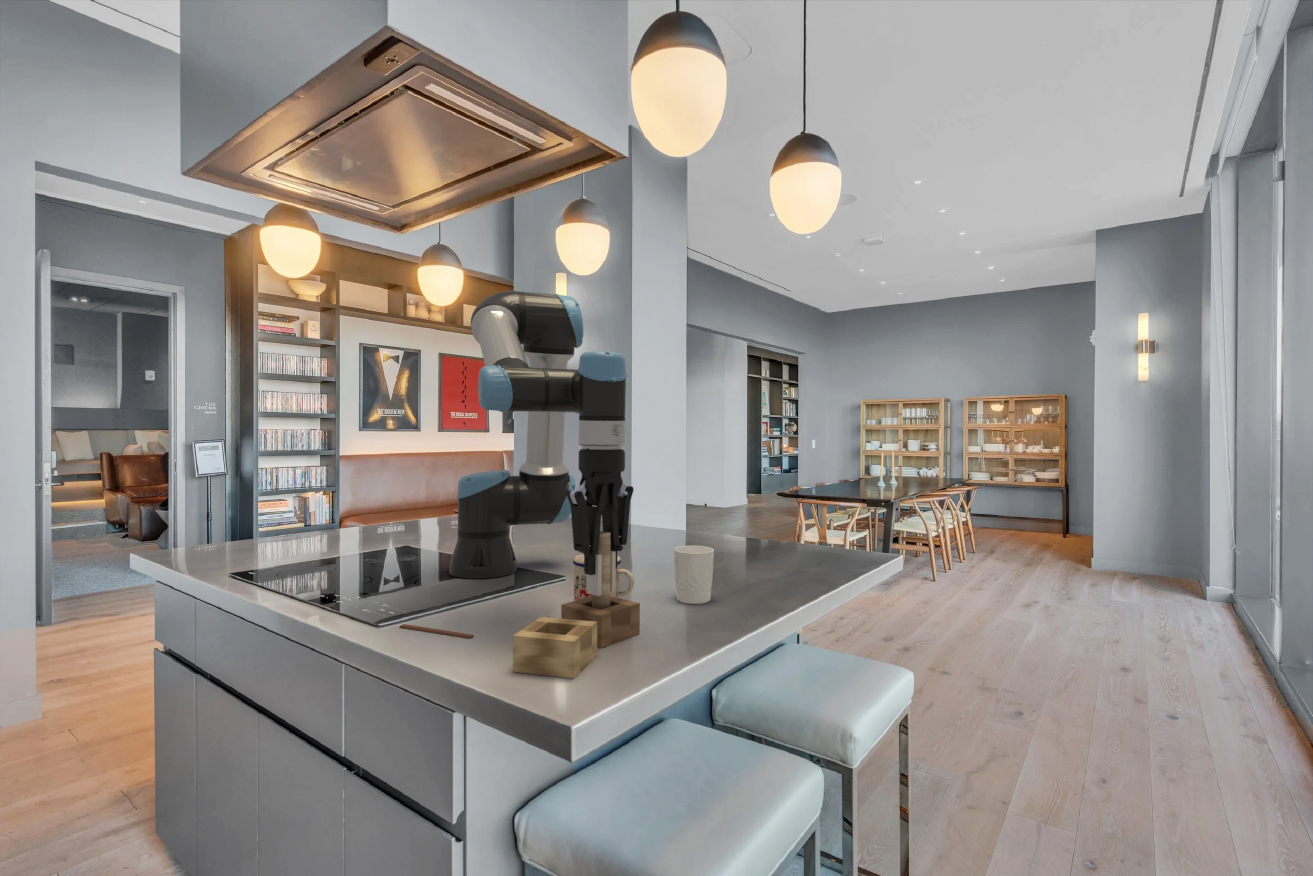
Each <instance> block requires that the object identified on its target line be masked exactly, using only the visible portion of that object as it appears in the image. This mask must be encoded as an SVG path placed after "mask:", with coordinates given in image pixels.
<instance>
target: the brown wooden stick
mask: <svg viewBox="0 0 1313 876" xmlns="http://www.w3.org/2000/svg"><path fill="white" fill-rule="evenodd" d="M399 628H400V629H405V630H406V629H407V630H413V631H419V632H426V633H432V634H439V635H445V636H453V637H458V638H463V639H465V638H466V639H472V638H474V636H475V635H474V634H472V633H464V632H459V631H451V630H445V629H440V628H439V629H437V628H434V627H433V628H432V627H426V626H425V627H424V626H419V625H418V626H417V625H412V624H407V623H406V624H405V623H404V624H401V625H399Z"/></svg>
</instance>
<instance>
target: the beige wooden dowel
mask: <svg viewBox="0 0 1313 876" xmlns="http://www.w3.org/2000/svg"><path fill="white" fill-rule="evenodd" d="M597 554H601V555H602V588H601V595H600V596H596V595H592V608H596V609H600V610H602V609H605V608H608V607H610V560H611V532H608V531H603V530H600V536H599V546H598V553H597Z"/></svg>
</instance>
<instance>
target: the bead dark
mask: <svg viewBox="0 0 1313 876" xmlns="http://www.w3.org/2000/svg"><path fill="white" fill-rule="evenodd" d="M640 604H641V603H640V602H636V601H632V600H628V599H624V598H616V597H612V596H610V607H608V608H605V609H602V610H600V609H596V608H592V596H591V597H587V598H584V599H580V600H577V601H574V600H573V601H570V602H566V603H562V604H561V609H560V610H561V611H560V613H561V614H560V615H561V618H562V619H573V620H584V621H595V622H597V648H599V649H603V648H605V647H608V646H611V645H613V644H615V643H619V642H621V641H624V640H627V639H629V638H631V637H634V636H636V635H639V634H640V627H641V626H640V625H641V624H640V623H641V621H640V620H641V618H640V615H641V613H640V612H641V611H640V610H641V605H640Z"/></svg>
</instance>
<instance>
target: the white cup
mask: <svg viewBox="0 0 1313 876" xmlns="http://www.w3.org/2000/svg"><path fill="white" fill-rule="evenodd" d="M714 554H715V549H714V548H713V547H709V546H704V545H682V546H676V547H674V548H673V557H674V560H673V562H674V579H675V582H674V583H675V588H676V590H675V591H676V600H677V602H679V603H684V604H690V605H702V604H707V603H708V602H709V603H710V601H711V600H712V597H711V596H712V587H713V575H714V574H713V573H714V559H715V558H714V556H715V555H714Z"/></svg>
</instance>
